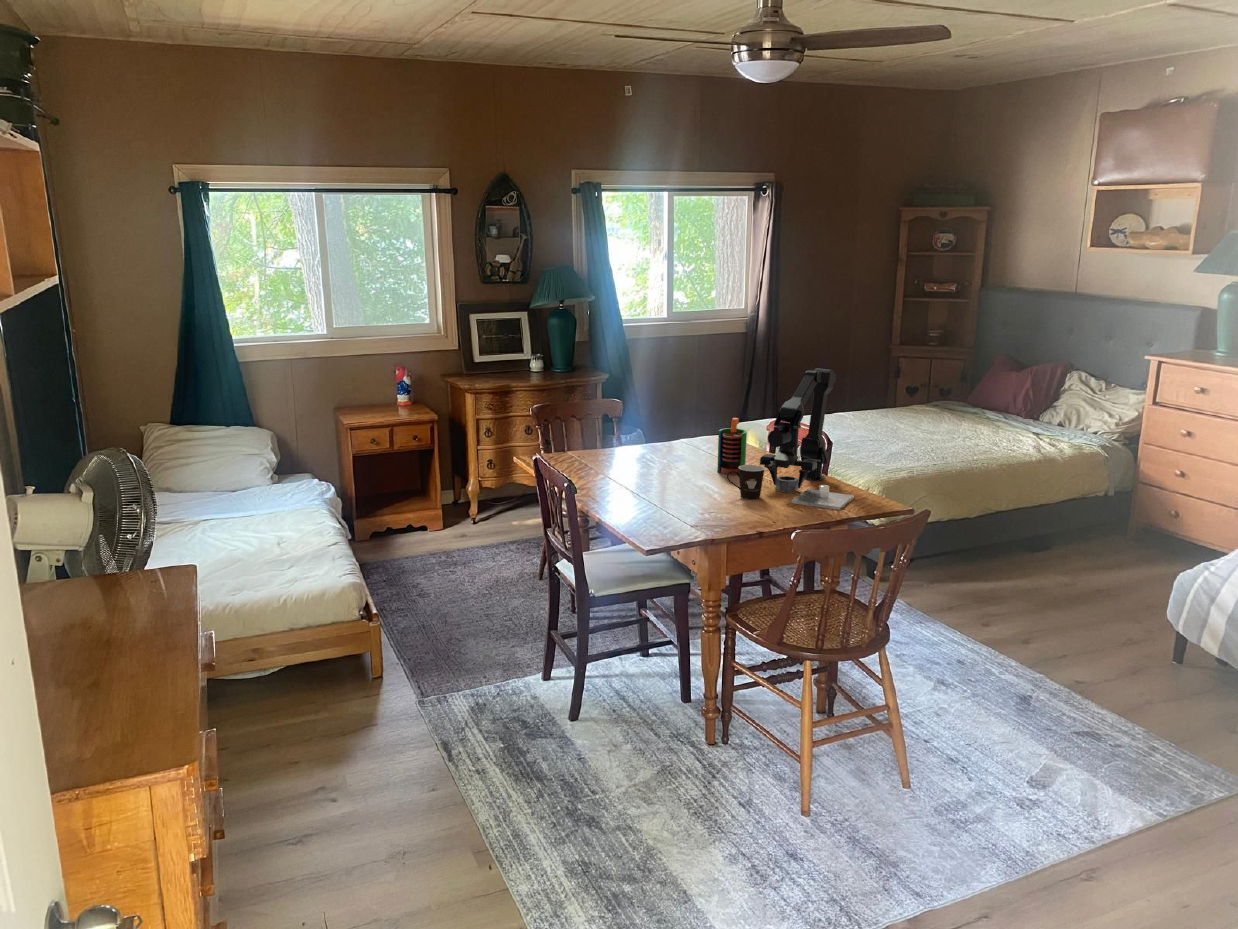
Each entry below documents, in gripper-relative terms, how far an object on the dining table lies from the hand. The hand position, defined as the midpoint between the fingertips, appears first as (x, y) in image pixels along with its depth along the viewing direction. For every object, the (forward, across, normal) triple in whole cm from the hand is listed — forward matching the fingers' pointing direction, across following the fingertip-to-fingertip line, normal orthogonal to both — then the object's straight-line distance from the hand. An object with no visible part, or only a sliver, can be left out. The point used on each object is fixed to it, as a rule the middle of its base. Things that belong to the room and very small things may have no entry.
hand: (787, 486), depth 324 cm
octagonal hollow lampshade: (+1, 0, 0) cm, 1 cm away
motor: (+1, -26, +13) cm, 29 cm away
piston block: (+1, +15, -7) cm, 17 cm away
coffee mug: (+1, -9, -15) cm, 18 cm away
